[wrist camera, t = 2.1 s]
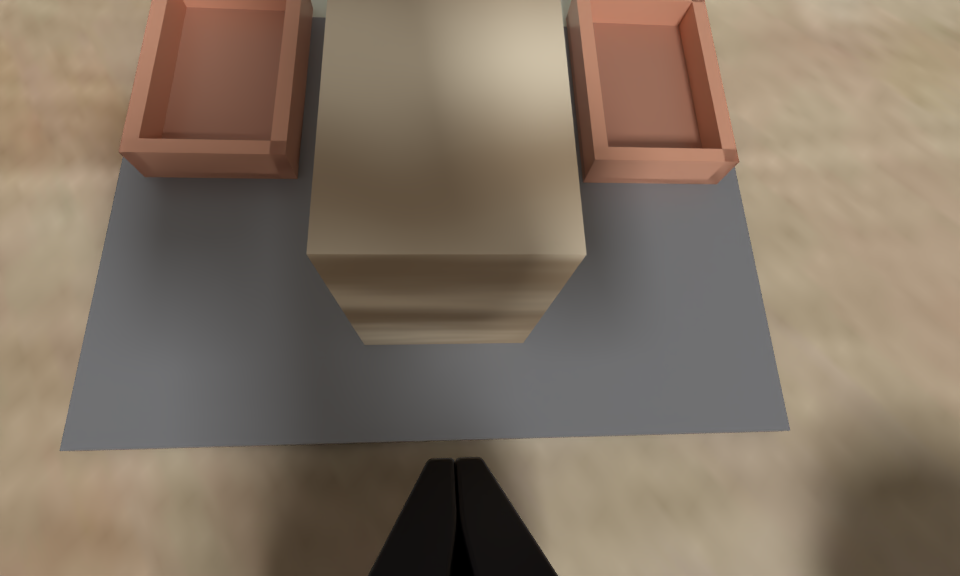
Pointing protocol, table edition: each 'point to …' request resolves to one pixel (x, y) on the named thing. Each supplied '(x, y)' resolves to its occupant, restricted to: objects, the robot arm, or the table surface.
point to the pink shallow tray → (648, 93)
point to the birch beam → (445, 168)
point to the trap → (220, 89)
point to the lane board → (412, 367)
